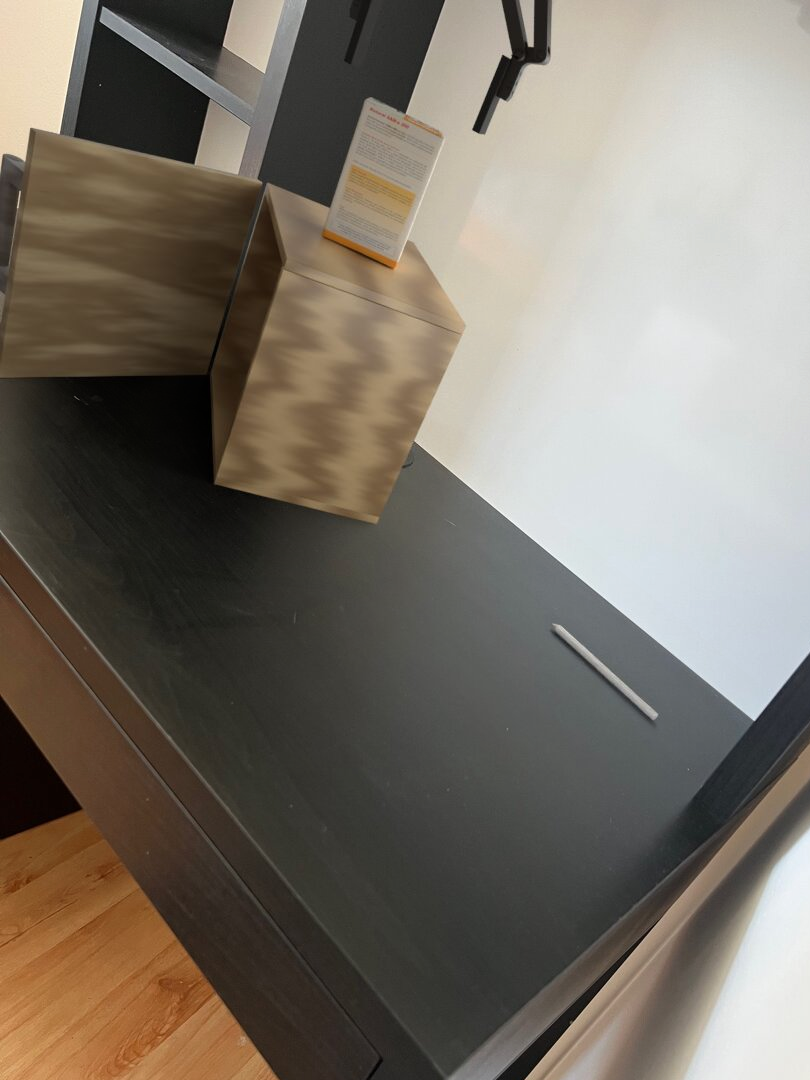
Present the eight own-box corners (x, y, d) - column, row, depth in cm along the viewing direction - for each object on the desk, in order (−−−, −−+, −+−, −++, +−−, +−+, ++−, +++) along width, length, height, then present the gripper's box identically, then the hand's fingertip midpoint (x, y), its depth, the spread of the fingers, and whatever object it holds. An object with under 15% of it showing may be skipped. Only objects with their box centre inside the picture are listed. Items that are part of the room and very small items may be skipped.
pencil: (555, 620, 93) (659, 714, 87) (549, 626, 93) (653, 721, 87) (553, 618, 92) (658, 713, 86) (548, 624, 92) (652, 720, 86)
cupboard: (213, 484, 86) (286, 258, 74) (209, 375, 106) (267, 182, 94) (376, 524, 94) (466, 325, 82) (344, 416, 114) (413, 242, 101)
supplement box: (398, 261, 91) (448, 134, 84) (395, 271, 87) (447, 138, 80) (325, 226, 89) (371, 94, 82) (318, 235, 85) (365, 96, 78)
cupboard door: (-42, 337, 88) (-12, 94, 75) (168, 342, 108) (218, 151, 96) (-2, 377, 85) (36, 131, 73) (206, 375, 105) (262, 182, 93)
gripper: (366, -268, 66) (283, 30, 77) (647, -117, 66) (524, 160, 77) (395, -230, 73) (314, 40, 84) (651, -92, 73) (537, 160, 83)
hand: (415, 98), depth 80 cm, fingers open, 13 cm apart
